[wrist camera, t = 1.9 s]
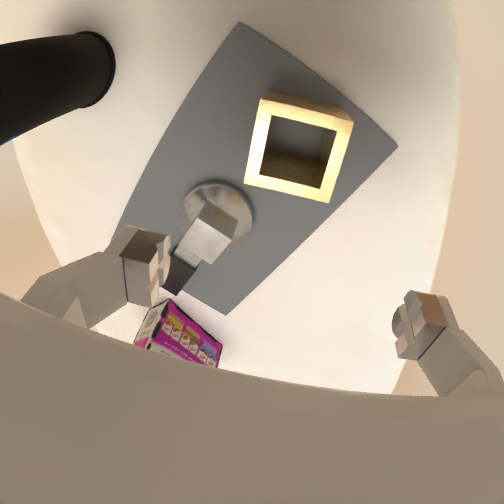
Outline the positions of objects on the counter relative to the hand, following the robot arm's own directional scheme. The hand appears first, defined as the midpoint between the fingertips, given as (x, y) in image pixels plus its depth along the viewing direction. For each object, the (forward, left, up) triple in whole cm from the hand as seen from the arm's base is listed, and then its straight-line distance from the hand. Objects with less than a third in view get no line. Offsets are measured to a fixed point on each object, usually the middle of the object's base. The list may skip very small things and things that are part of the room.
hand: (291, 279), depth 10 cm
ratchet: (+15, -1, -19) cm, 24 cm away
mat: (+9, -1, -19) cm, 21 cm away
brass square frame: (0, 0, -19) cm, 19 cm away
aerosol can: (+6, -21, -19) cm, 29 cm away
